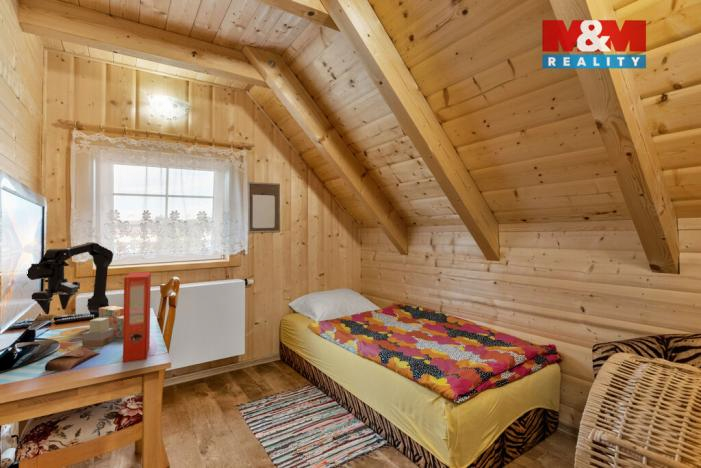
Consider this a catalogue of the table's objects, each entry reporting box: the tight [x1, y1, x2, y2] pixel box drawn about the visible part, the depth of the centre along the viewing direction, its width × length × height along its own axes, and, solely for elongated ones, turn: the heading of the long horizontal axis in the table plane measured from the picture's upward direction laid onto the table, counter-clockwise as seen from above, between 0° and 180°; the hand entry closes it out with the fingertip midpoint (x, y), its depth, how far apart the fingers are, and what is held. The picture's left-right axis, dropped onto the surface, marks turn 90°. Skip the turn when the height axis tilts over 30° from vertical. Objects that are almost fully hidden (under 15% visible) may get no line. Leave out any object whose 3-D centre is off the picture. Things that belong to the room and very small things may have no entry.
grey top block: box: [81, 328, 113, 341], centre depth 153 cm, size 8×8×3 cm
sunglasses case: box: [44, 345, 101, 372], centre depth 132 cm, size 18×7×7 cm, turn 5°
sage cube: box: [89, 318, 109, 332], centre depth 154 cm, size 5×5×5 cm
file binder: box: [122, 271, 152, 363], centre depth 140 cm, size 8×17×32 cm, turn 27°
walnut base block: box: [81, 335, 114, 347], centre depth 153 cm, size 8×8×3 cm
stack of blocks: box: [99, 305, 124, 339], centre depth 167 cm, size 21×6×12 cm, turn 63°
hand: (55, 311), depth 156 cm, fingers open, 9 cm apart
